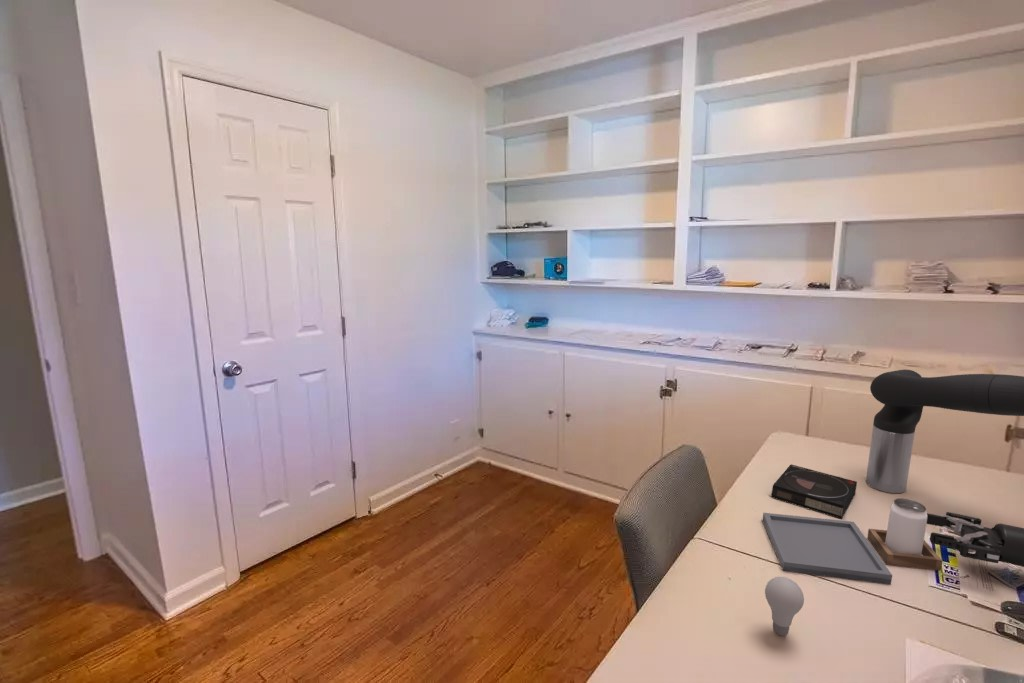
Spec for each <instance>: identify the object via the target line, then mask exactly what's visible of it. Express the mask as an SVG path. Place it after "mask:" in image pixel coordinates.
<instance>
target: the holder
mask: <svg viewBox="0 0 1024 683" xmlns="http://www.w3.org/2000/svg"><path fill="white" fill-rule="evenodd" d="M886 535H887V529H886V530H884V529H876V528H868V531H867V541H868V542H869V543H870V545H871V546H873V547H872V548H873V549H874V550H875V552H876V553H877V554H878V556H879V557H880V559H881V560H882V561H884V562H883V563H884V564H885V566H886V565H887V566H894V567H903V568H911V569H912V568H913V569H919V570H920V569H921V570H930V571H937V570H938V571H939V572H941V571H942V566H943V562H944V561H943V559H942V558H941V557H940V556H939V555H938V554H937V553H936V552H935V550H934V549H933V548H932V547H931V546H930V545H929V544H928V543H927V542H926V541H925V539H924V542H923V548H922V554H921V555H912V554H903V553H894V552H891V551H890V550H889V548H888V547H887V546H886V545H885V542H886Z"/></svg>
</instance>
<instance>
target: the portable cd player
mask: <svg viewBox="0 0 1024 683" xmlns="http://www.w3.org/2000/svg"><path fill="white" fill-rule="evenodd" d="M857 483H858V481H856V480H851V479H848V478H844V477H841V476H836V475H833V474H829V473H826V472H822V471H818V470H815V469H810V468H807V467H804V466H803V467H802V466H798V465H795V464H792V463H791V464H789V466H788V467H787V468H786V469H785V471H784V472H783V473H781V475H780V476H779V477H778V479H777V480H776V481H775V482H774V483H773V484H772V488H771V494H770V496H771V498H772V497H774V498H773V499H776V498H777V500H779V499H780V500H779V501H782V500H783V501H782V502H785V501H786V503H788V504H789V503H790V504H792V503H793V504H792V505H795V504H796V506H798V505H799V507H802V508H804V509H808V508H809V510H811V509H812V510H811V511H815V512H818V513H821V514H824V513H825V515H827V514H828V515H827V516H831V517H835V518H838V519H839V520H841V519H843V518H844V516H845V515H846V512H847V510H848V509H849V507H850V505H851V502H853V499H854V497H855V495H856V491H857V485H858V484H857Z"/></svg>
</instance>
